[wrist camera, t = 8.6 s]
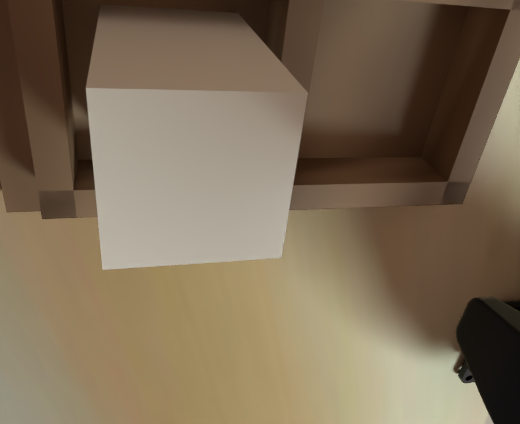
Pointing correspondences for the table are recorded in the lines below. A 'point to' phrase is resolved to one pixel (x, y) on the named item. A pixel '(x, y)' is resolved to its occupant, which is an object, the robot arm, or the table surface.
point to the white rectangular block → (189, 138)
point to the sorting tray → (305, 72)
